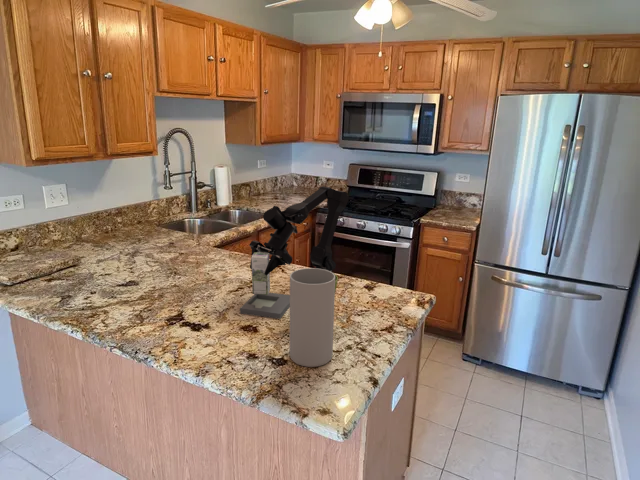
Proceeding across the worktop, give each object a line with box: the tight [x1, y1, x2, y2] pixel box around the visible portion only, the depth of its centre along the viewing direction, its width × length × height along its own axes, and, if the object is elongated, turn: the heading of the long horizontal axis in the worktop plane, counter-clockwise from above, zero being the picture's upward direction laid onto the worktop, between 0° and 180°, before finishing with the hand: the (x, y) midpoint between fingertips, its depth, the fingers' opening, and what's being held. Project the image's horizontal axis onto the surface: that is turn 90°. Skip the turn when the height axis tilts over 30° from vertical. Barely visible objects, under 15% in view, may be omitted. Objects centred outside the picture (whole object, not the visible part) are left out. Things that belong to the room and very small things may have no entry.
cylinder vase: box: [289, 267, 336, 368], centre depth 121 cm, size 12×12×25 cm
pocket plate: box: [239, 292, 290, 320], centre depth 155 cm, size 15×16×2 cm
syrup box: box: [250, 252, 271, 295], centre depth 154 cm, size 6×6×14 cm
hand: (258, 271), depth 153 cm, fingers closed on syrup box, 8 cm apart
